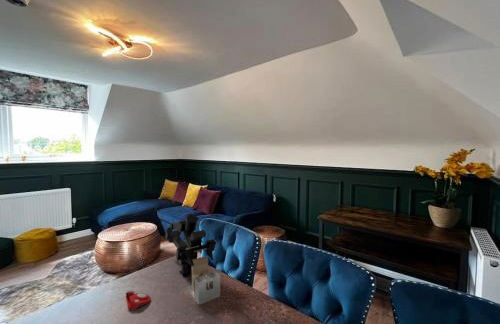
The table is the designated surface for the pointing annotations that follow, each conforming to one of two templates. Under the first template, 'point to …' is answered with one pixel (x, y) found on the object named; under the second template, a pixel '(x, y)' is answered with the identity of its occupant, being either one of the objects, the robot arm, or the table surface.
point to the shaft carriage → (199, 269)
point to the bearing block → (206, 288)
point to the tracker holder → (136, 299)
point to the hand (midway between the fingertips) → (203, 262)
